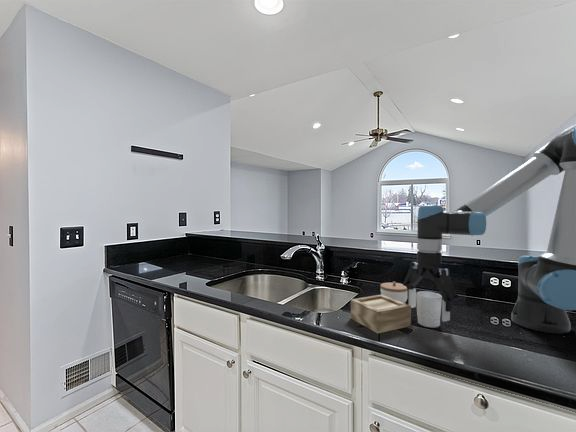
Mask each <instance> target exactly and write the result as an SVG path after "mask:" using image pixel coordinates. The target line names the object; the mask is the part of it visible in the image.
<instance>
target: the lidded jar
mask: <svg viewBox="0 0 576 432" xmlns="http://www.w3.org/2000/svg"><path fill="white" fill-rule="evenodd" d="M379 286H380V295H384V296H387V297H389V298H392V299H395V300H397V301H400V302H402V303H405V304H406V302H407V300H408V299H409V297H408V296H407V292H408V289H407V287H406V286H404V285H403V283H401V282H396V281H392V282H382V283H380V285H379Z"/></svg>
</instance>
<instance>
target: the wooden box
mask: <svg viewBox="0 0 576 432" xmlns="http://www.w3.org/2000/svg"><path fill="white" fill-rule="evenodd" d="M350 319H351V320H353V321H355V322H357V324H360V325H362V326H364V327H365V328H367V329H369V330H371V331H372V332H375V334H382V333H386V332H389V331H395V330H399V329H403V328H408V327H411V326H412V308H411V306H410V305H408V304H407V303H406V302H405V303H402V302H400V301H397V300H395V299H392V298H389V297H387V296H384V295H381V294H377V295H369V296H364V297H358V298H351V299H350Z"/></svg>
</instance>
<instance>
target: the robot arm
mask: <svg viewBox="0 0 576 432" xmlns="http://www.w3.org/2000/svg"><path fill="white" fill-rule="evenodd" d="M563 172H564V174H563V178H562V183H561V189H560V191H559V196H558V201H557V205H556V210H555V213H554V217H553V218H554V219H553V223H552V228H551V231H550V237H549V241H548V245H547V250H546V251H545V252H543V253H541V254H539V255H521V256H520V257H519V258H518V263H517V266H518V267H517V268H518V275H517V279H518V280H517V281H518V283H517V286H518V287H517V291H518V292H517V300H516V301H515V305H514V307H513V309H512V311H511V322H513V323H514V324H516V325H517V326H521V327H523V328H526V329H530V330H533V331H537V332H541V333H546V334H547V333H549V334H567V333H571V329H572V328H571V327H572V324H571V321H570V318H569V316H568V314H567V311H576V123H575V124H572V125H570V126H569V127H566V128H565V129H563V130H562V131H560V132H559V133H558V134H557V135H555V136H554V137H553V138H552V139H551V140H549V141H548V142H547V143H546V144H545V145H543V146H542V147H540V148H539V149H538V150H536V151H535V152H534V153H533V154H532V158H530V159H529V160H527V161H526V162H525V163H522V165H520V166H518V167H517V168H516V169H514V170H513V171H511V172H509V173H508V174H507V175H505V176H504V177H502V178H501V179H500V180H498V181H497V182H495V183H494V184H492V185H491V186H489V187H488V188H486V189H485V190H483V191H482V192H480V193H479V194H477V195H476V196H474V197H473V198H472V199H471V200H468V201H467V202H465V203H464V205H462V206H460V207H458V208H457V209H455V210H453V211H446V210H444V207H443V205H438V204H437V205H425V204H424V205H420V206H418V210H417V211H418V212H417V237H416V238H417V243H416V249H417V251H416V261H411V262H410V263H409V269H408V271H407V273H406V276H405V279H404V281H403V282H402V284H403V285H404V286H406V287H407V289H408V292H407V296H408V305H410V306H411V309H413V308H417V303H416V293H417V289H416V287H417V285H418V284H420V283H419V282H421V281H422V279H427V280H429V281H432V282H433V283H434V284H435V286H436V288H437V289H438V290H439V294H440V295H442V304H441V321H442V322H448V321H451V312H453V302H455V301H458V300H460V298H459V295H458V292H457V290H456V288H455V285H454V282H453V280H452V277H451V270H450V268H441V264H442V261H443V259H442V257H443V256H442V255H443V253H442V252H441V251H443V246H442V245H443V235H462V236H463V235H465V236H472V237H473V236H482V235H484V234H486V231H487V230H486V229H487V217H488V216H489V215H491V214H492V213H494V212H496V211H497V210H498V209H500V208H502V207H503V206H505V205H506V204H508V203H510V202H511V201H513V200H514V199H516V198H518V197H519V196H521V195H522V194H523V193H526V191H528V190H530V189H531V188H533V187H534V186H535V185H538V184H539V183H541V182H542V181H544V180H545V179H547V178H548V177H550V176H558V175H559V174H561V173H563ZM417 270H418V271H417Z"/></svg>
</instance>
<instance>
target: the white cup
mask: <svg viewBox="0 0 576 432" xmlns="http://www.w3.org/2000/svg"><path fill="white" fill-rule="evenodd" d="M442 301H443V296H442V294H441V293H437V292H434V291H428V290H427V291H425V290H424V291H423V290H422V291H421V290H420V291H416V315H417V323H418V324H419V325H421V326H423V327H426V328H439V327H440V325H441V318H442Z"/></svg>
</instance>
